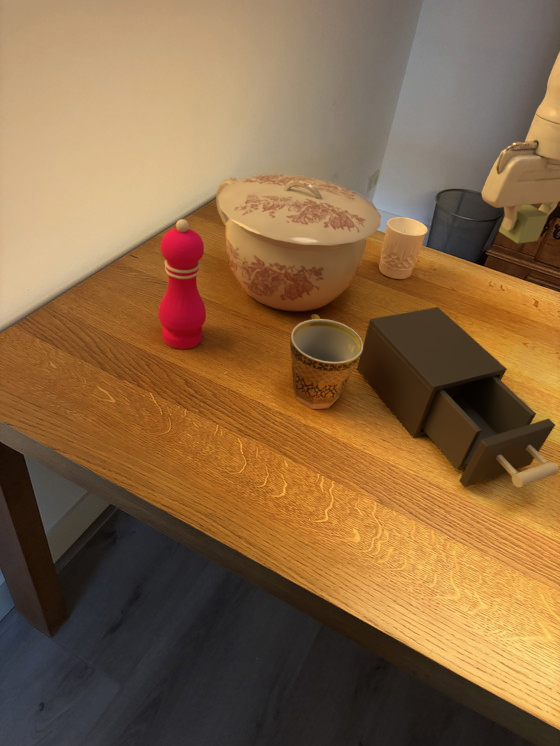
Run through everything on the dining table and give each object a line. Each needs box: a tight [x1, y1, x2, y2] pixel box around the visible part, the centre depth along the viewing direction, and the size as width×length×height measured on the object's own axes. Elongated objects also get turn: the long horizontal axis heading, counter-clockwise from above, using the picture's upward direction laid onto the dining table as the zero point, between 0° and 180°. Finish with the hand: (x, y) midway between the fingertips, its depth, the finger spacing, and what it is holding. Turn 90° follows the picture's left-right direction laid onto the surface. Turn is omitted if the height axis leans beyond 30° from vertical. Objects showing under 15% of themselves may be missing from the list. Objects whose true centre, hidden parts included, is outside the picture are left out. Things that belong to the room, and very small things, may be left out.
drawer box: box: [356, 306, 508, 439], centre depth 80 cm, size 16×13×10 cm
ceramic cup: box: [289, 313, 364, 410], centre depth 78 cm, size 13×10×10 cm
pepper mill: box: [158, 218, 207, 350], centre depth 80 cm, size 7×7×20 cm
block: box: [498, 204, 550, 244], centre depth 89 cm, size 4×4×4 cm
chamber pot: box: [215, 172, 382, 312], centre depth 95 cm, size 28×28×21 cm
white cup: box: [378, 216, 428, 280], centre depth 109 cm, size 8×8×10 cm
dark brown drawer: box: [422, 376, 559, 488], centre depth 72 cm, size 19×11×8 cm, turn 25°
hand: (522, 227), depth 90 cm, fingers closed on block, 4 cm apart
